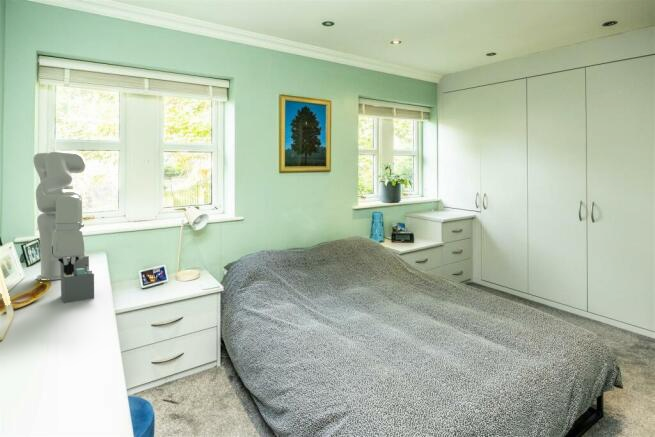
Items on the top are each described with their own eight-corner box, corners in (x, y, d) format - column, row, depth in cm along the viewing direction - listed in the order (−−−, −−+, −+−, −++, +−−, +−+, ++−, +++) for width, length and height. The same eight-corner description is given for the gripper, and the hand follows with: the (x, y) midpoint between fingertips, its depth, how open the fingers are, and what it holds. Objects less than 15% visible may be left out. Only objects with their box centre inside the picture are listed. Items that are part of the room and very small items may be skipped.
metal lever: (86, 273, 150) (85, 264, 150) (88, 272, 150) (88, 264, 150) (86, 273, 149) (86, 264, 149) (89, 272, 150) (88, 263, 150)
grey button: (86, 273, 148) (86, 270, 148) (90, 273, 149) (90, 269, 149) (87, 274, 147) (87, 270, 147) (91, 273, 148) (91, 270, 148)
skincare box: (73, 297, 149) (73, 258, 148) (59, 295, 151) (58, 257, 149) (91, 291, 157) (90, 255, 156) (77, 290, 159) (76, 254, 158)
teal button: (75, 276, 147) (75, 268, 146) (82, 275, 148) (82, 268, 148) (77, 278, 145) (77, 270, 145) (84, 277, 147) (84, 269, 147)
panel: (61, 300, 145) (61, 275, 144) (90, 295, 152) (90, 271, 151) (64, 303, 142) (64, 277, 141) (94, 298, 149) (94, 273, 148)
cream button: (63, 282, 144) (63, 274, 144) (71, 281, 146) (71, 273, 146) (65, 283, 142) (65, 275, 142) (73, 282, 144) (73, 274, 144)
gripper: (87, 225, 150) (87, 270, 152) (41, 227, 139) (42, 275, 140) (93, 227, 145) (93, 273, 147) (46, 229, 134) (47, 279, 136)
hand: (68, 274), depth 144 cm, fingers closed
